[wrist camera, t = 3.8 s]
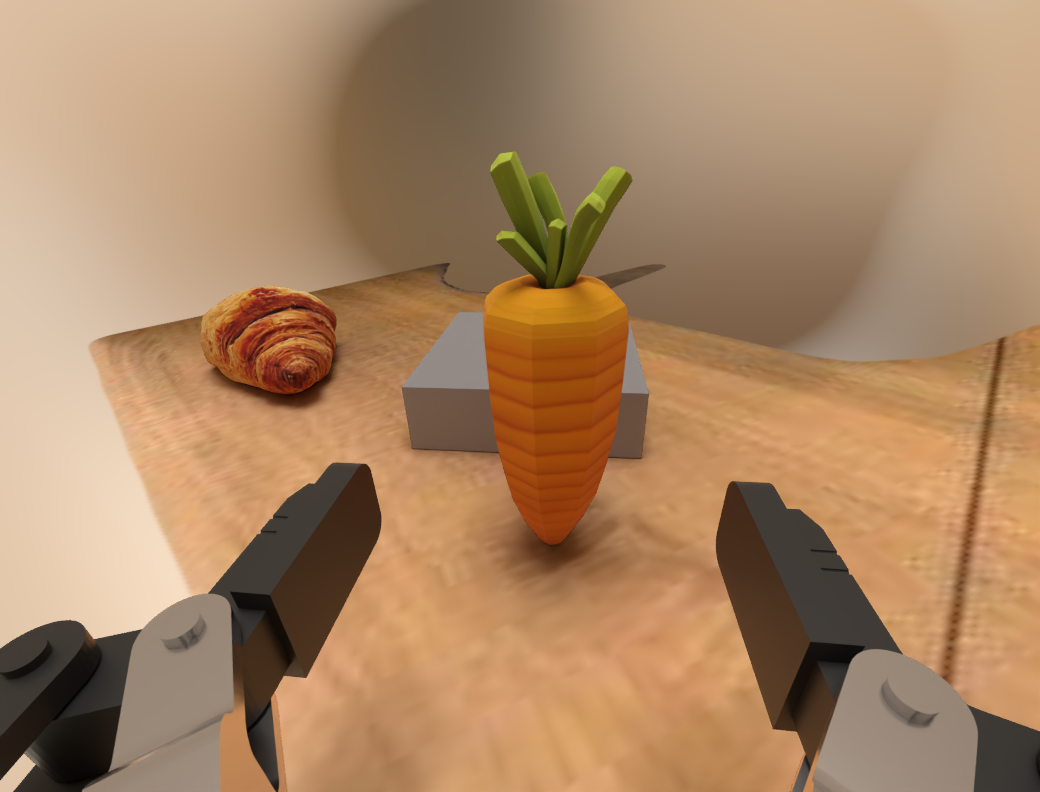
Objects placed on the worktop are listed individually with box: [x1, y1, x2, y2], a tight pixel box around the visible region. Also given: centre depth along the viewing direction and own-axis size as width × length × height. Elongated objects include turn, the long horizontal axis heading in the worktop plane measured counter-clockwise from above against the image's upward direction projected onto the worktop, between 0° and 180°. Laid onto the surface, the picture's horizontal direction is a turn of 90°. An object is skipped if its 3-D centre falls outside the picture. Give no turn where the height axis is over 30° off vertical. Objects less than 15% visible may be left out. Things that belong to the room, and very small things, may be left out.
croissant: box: [200, 286, 336, 394], centre depth 38 cm, size 21×10×8 cm, turn 37°
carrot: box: [483, 152, 632, 545], centre depth 16 cm, size 5×5×15 cm
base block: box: [402, 312, 649, 458], centre depth 30 cm, size 13×13×4 cm
